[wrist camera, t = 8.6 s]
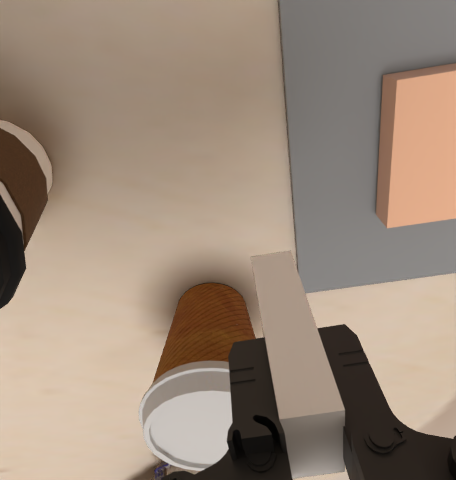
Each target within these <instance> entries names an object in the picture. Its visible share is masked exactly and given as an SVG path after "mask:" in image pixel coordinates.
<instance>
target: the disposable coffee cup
mask: <svg viewBox="0 0 456 480" xmlns="http://www.w3.org/2000/svg"><path fill="white" fill-rule="evenodd" d="M251 339H256V338H255V334H254V332H253V328H252V324H251V322H250V318H249V314H248V312H247V308H246V304H245V301H244V299H243V297H242V296H241V295H240V294H239V293H238V292H237V291H236V290H234V289H233V288H231V287H229V286H226V285H222V284H217V283H207V284H201V285H197V286H195V287H193V288H191V289H189V290H188V291H187V292H185V294H184V295H183V296H182V297H181V298H180V300H179V302H178V306H177V309H176V312H175V315H174V319H173V322H172V325H171V328H170V331H169V334H168V337H167V340H166V344H165V347H164V349H163V353H162V356H161V359H160V362H159V365H158V368H157V371H156V374H155V378H154V381H153V383H152V385H151V387H150V388H149V390H148V391H147V392H146V393H145V394H144V397H143V399H142V401H141V404H140V408H139V420H140V423H141V426H142V428H143V435H144V440H145V442H146V444H147V446H148V448H149V449H150V450H151V451H152V452H153V454H155V455H156V456H157V457H158V458H160V459H162V460H163V461H165V462H166V463H169V464H171V465H173V466H176V467H180V468H183V469H188V470H195V471H202V470H204V469H206V468H208V467H210V466H212V465H213V464H215V463H216V462H218V461H219V460H220V459H221V458H222V457H223V456H224V455H225V454H226V452H227V451H228V449H229V448H228V444H227V435H228V429H229V428H230V426H231V424H232V407H231V392H230V377H229V361H228V355H229V353H230V350H231V348H232V345H233V343H234V342H238V341H245V340H251Z"/></svg>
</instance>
